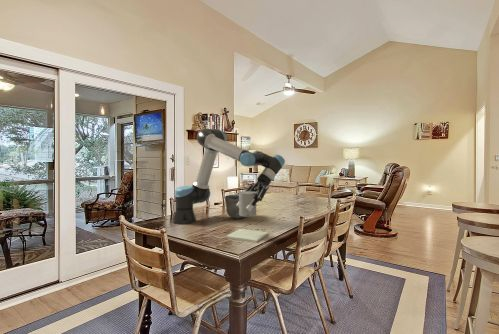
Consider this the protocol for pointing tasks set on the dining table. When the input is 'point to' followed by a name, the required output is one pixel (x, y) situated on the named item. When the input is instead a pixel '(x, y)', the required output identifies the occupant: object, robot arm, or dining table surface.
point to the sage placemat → (247, 235)
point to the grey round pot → (232, 206)
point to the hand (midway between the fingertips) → (242, 208)
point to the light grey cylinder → (246, 203)
